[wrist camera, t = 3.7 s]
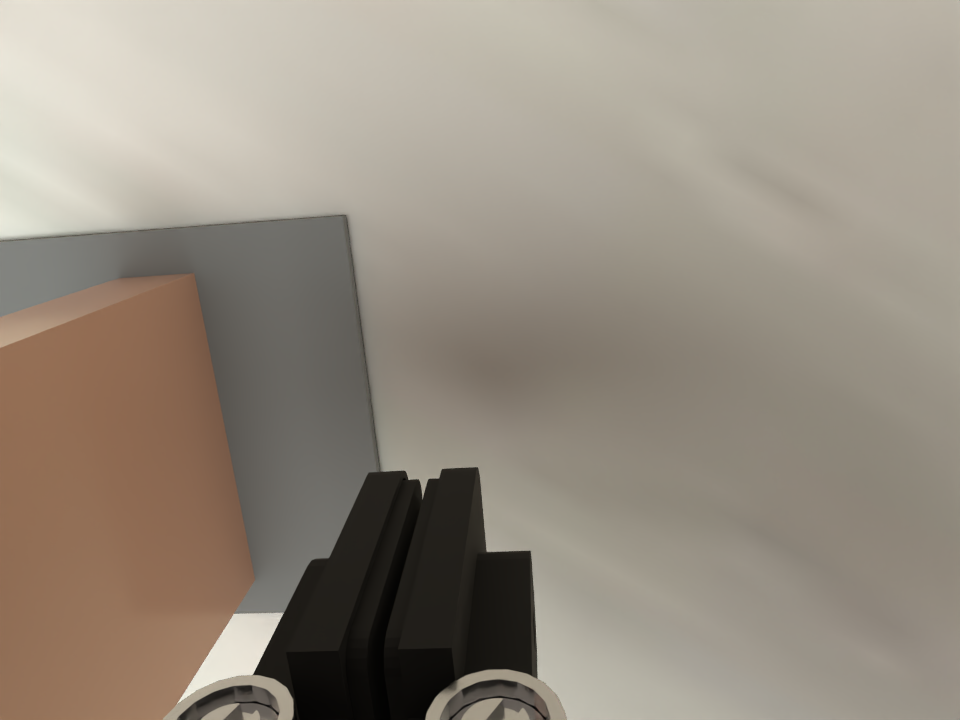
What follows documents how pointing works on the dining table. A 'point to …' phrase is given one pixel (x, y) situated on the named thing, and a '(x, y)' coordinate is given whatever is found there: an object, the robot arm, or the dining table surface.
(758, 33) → the dining table surface
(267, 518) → the mat
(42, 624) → the tile
